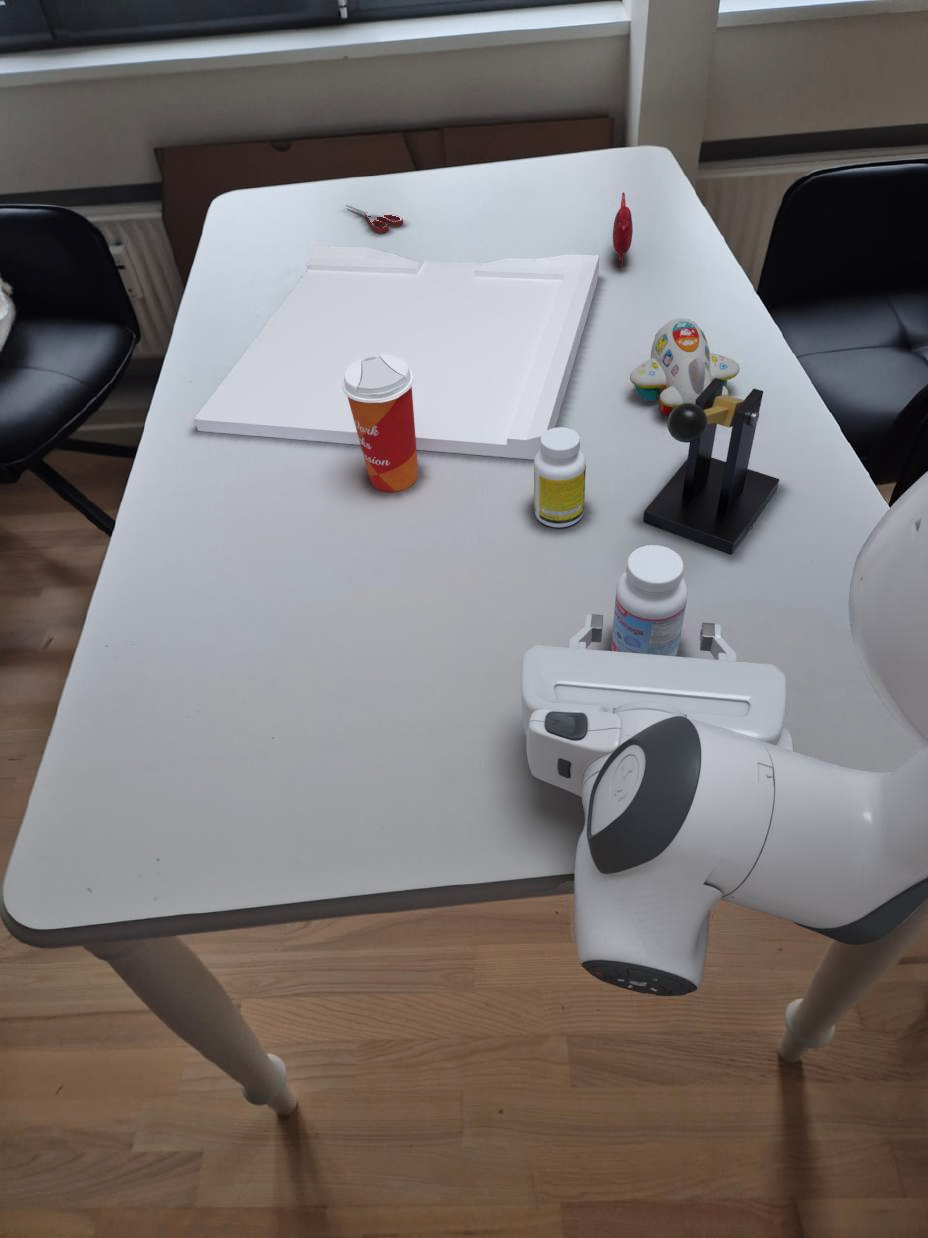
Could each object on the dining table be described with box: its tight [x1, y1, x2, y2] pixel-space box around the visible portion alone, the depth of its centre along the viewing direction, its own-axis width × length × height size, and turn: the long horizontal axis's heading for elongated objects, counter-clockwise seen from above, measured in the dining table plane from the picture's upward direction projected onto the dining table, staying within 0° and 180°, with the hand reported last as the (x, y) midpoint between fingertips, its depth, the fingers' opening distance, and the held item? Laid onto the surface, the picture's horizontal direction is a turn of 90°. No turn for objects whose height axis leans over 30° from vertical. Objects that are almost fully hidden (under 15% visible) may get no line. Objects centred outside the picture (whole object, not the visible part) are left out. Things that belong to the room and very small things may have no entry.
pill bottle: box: [611, 544, 689, 657], centre depth 76 cm, size 6×6×11 cm
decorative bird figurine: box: [612, 191, 634, 267], centre depth 131 cm, size 3×18×10 cm, turn 173°
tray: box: [193, 245, 600, 461], centre depth 119 cm, size 45×45×4 cm
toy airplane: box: [629, 317, 741, 416], centre depth 105 cm, size 13×9×15 cm
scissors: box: [345, 204, 404, 233], centre depth 151 cm, size 5×14×1 cm, turn 41°
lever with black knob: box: [667, 395, 745, 444], centre depth 80 cm, size 14×3×3 cm, turn 145°
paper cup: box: [342, 355, 419, 493], centre depth 96 cm, size 8×8×14 cm
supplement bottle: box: [533, 426, 587, 528], centre depth 91 cm, size 5×5×10 cm
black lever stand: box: [642, 378, 780, 555], centre depth 88 cm, size 12×10×14 cm
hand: (651, 623), depth 72 cm, fingers open, 8 cm apart
